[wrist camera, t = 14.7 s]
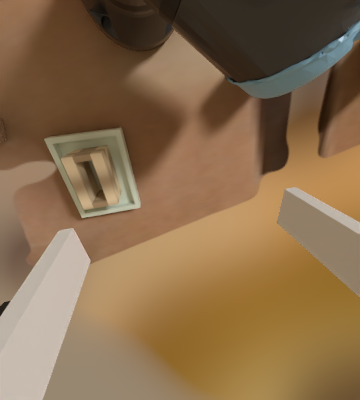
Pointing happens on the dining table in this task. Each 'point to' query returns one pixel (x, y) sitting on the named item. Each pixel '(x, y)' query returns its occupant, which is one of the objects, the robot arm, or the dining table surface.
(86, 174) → the slotted wooden block
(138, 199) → the tray
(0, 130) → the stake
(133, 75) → the dining table surface
